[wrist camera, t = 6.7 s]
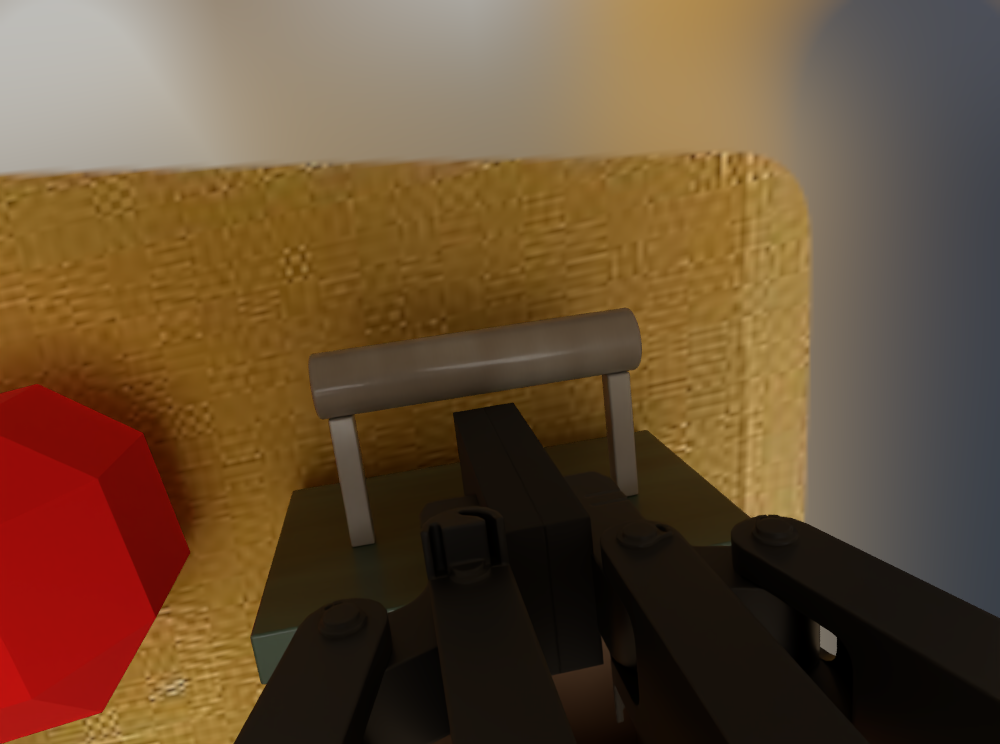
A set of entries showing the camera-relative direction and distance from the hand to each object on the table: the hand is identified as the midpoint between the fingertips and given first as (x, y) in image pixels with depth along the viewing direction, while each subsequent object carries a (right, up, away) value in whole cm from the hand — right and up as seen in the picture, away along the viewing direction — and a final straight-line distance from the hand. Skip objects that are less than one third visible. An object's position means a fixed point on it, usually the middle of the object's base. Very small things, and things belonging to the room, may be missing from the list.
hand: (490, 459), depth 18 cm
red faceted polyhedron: (-14, -2, +5) cm, 14 cm away
